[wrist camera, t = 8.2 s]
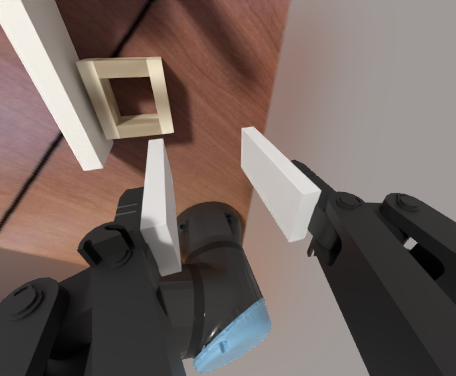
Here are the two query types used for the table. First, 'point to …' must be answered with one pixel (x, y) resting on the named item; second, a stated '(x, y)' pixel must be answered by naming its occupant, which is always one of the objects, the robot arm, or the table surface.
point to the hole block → (106, 104)
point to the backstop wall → (56, 75)
